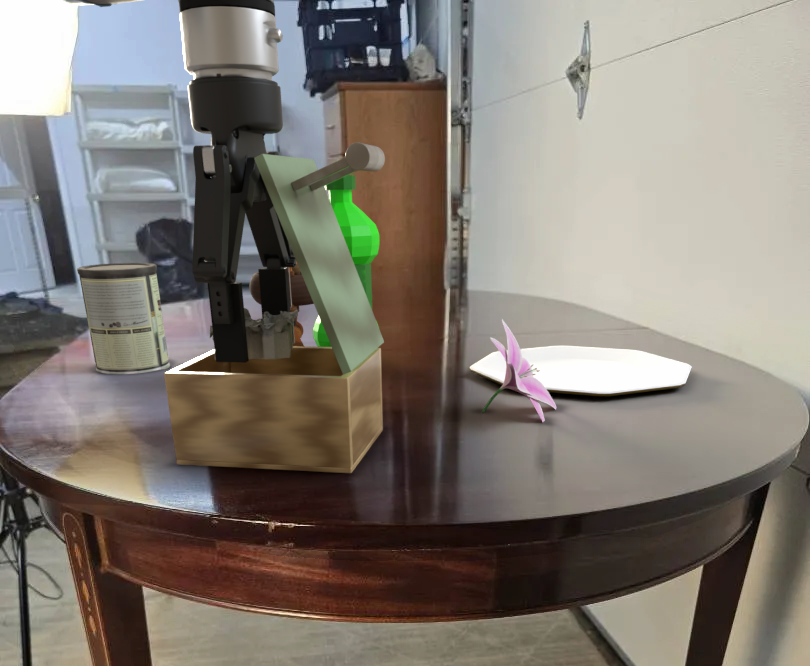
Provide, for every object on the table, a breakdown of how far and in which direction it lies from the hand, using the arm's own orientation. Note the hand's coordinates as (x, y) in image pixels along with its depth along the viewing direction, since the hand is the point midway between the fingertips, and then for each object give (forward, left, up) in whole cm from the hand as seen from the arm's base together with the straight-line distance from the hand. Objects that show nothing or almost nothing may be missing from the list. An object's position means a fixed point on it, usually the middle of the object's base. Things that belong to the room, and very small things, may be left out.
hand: (256, 348), depth 72 cm
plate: (+31, +36, -10) cm, 49 cm away
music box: (-6, +27, -10) cm, 29 cm away
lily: (+24, +15, -10) cm, 30 cm away
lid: (+7, 0, +8) cm, 10 cm away
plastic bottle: (-3, +44, -10) cm, 45 cm away
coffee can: (-32, +33, -10) cm, 47 cm away
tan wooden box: (+2, 0, -10) cm, 10 cm away
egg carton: (0, 0, 0) cm, 0 cm away
